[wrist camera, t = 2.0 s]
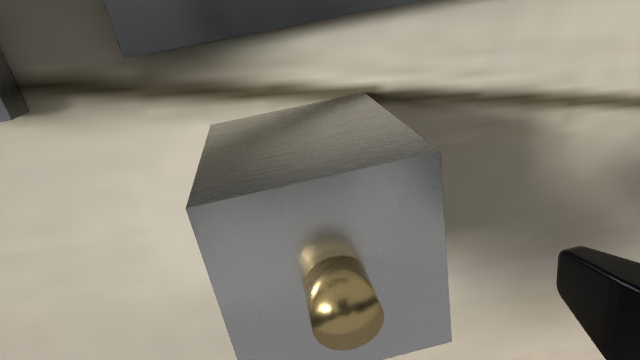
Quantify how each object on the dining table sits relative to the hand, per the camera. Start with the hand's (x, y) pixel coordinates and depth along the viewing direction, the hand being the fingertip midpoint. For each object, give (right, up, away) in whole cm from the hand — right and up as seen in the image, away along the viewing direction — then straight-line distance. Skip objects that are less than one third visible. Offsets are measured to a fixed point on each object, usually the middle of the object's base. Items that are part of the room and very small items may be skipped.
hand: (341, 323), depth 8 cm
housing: (-1, +3, +6) cm, 7 cm away
